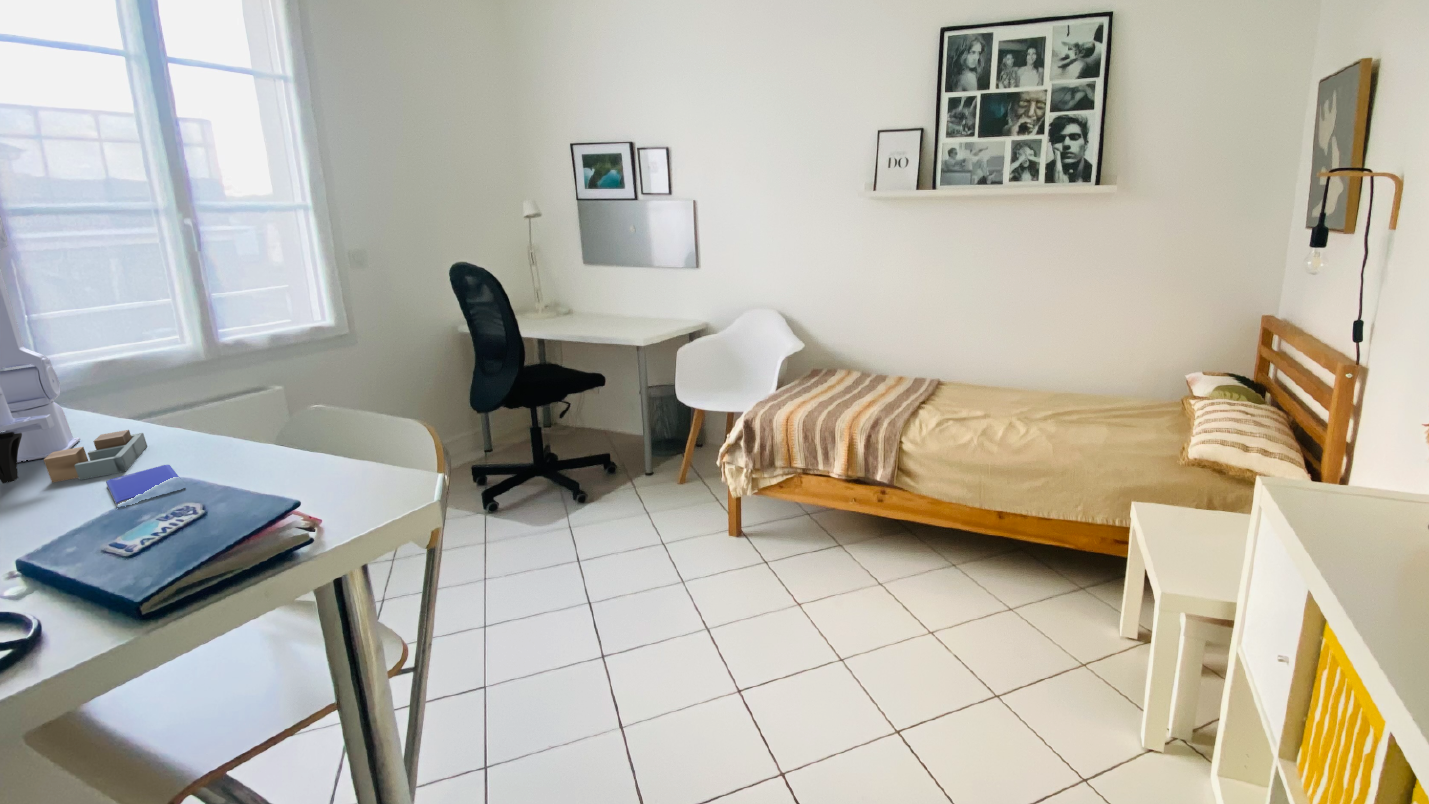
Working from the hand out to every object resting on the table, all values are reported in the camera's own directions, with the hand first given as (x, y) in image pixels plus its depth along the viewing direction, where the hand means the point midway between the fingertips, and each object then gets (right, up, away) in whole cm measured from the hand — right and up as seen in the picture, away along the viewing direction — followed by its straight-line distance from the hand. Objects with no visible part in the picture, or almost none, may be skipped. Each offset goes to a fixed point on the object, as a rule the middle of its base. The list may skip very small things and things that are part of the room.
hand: (10, 480), depth 115 cm
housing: (+10, +2, +8) cm, 13 cm away
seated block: (+8, +3, +11) cm, 14 cm away
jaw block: (+7, 0, +3) cm, 8 cm away
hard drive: (+25, -1, -4) cm, 25 cm away
